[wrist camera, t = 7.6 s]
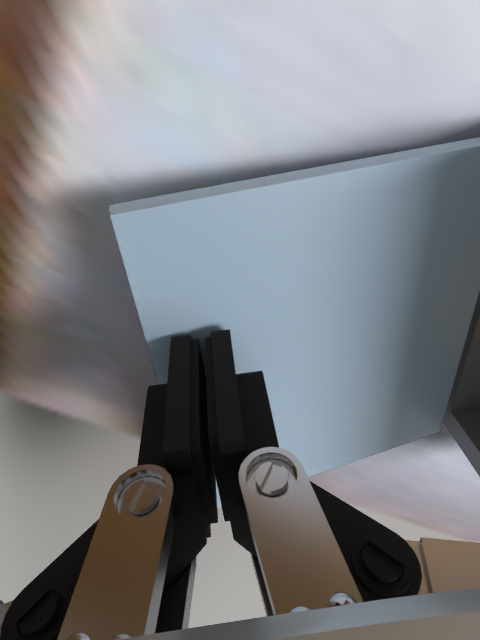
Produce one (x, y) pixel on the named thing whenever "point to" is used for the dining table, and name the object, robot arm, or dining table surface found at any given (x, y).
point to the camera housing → (467, 395)
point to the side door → (322, 290)
